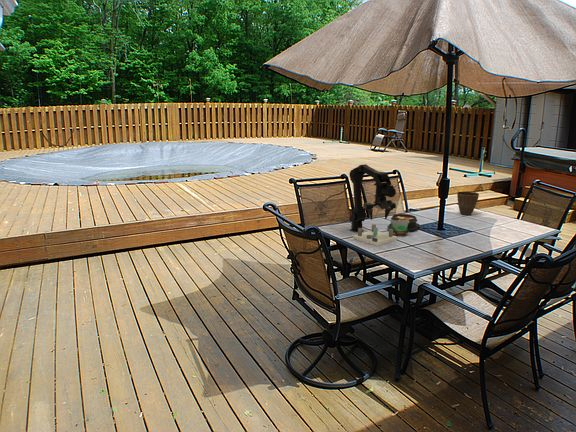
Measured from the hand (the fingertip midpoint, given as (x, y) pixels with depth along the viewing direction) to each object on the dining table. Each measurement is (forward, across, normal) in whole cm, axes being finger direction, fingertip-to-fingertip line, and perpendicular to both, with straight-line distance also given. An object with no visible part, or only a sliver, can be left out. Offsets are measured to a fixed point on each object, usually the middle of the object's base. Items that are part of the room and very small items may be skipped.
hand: (378, 219), depth 257 cm
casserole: (+13, +27, +18) cm, 35 cm away
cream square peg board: (+12, -1, 0) cm, 13 cm away
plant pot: (+13, +90, +44) cm, 101 cm away
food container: (+13, +18, +5) cm, 23 cm away
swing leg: (+10, -4, -2) cm, 11 cm away
